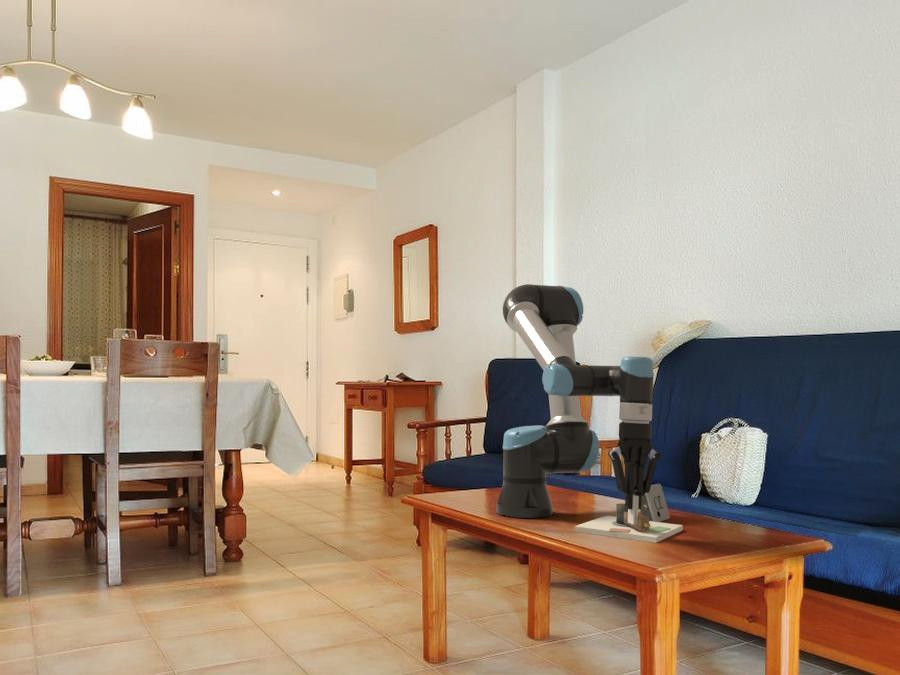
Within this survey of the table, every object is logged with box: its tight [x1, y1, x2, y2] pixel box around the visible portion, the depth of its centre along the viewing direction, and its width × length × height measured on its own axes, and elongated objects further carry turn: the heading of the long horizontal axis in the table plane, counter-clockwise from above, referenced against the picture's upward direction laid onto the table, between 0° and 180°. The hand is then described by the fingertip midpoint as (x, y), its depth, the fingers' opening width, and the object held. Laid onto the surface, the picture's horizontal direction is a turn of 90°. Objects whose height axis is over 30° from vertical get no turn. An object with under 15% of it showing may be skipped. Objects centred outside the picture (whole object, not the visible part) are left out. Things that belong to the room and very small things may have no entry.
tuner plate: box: [574, 515, 684, 544], centre depth 178 cm, size 20×18×2 cm
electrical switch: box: [639, 483, 671, 523], centre depth 193 cm, size 9×5×9 cm, turn 141°
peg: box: [615, 502, 650, 530], centre depth 175 cm, size 14×4×4 cm, turn 13°
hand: (632, 523), depth 173 cm, fingers closed
